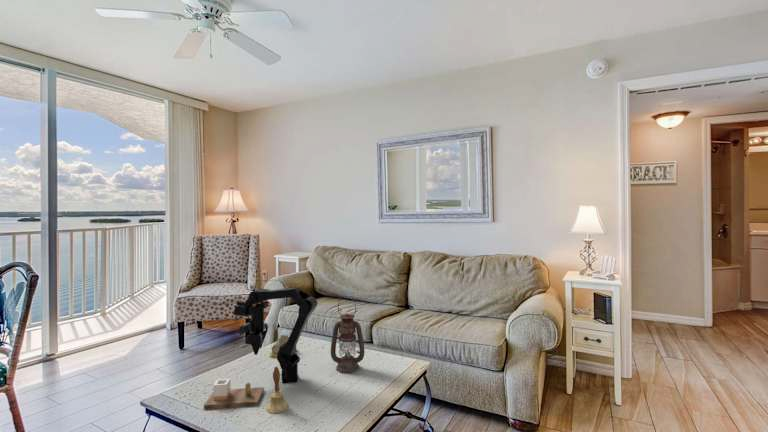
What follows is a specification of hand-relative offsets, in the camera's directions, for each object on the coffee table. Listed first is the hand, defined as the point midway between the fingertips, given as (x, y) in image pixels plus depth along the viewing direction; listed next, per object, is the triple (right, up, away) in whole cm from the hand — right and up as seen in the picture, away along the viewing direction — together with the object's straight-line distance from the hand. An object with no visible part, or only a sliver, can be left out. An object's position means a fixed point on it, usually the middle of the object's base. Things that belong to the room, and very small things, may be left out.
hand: (258, 350), depth 169 cm
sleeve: (-7, -11, -21) cm, 25 cm away
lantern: (+40, -12, +8) cm, 43 cm away
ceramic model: (+4, -12, +28) cm, 31 cm away
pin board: (-2, -12, -20) cm, 24 cm away
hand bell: (+17, -12, -27) cm, 34 cm away
